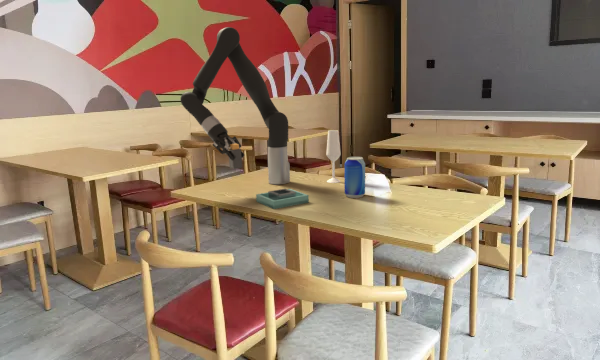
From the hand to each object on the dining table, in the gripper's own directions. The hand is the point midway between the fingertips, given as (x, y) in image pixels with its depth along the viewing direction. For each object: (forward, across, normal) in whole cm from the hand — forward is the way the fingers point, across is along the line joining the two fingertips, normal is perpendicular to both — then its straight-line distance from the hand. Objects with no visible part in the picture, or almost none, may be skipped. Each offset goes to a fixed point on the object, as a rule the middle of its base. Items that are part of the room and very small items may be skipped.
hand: (238, 157), depth 206 cm
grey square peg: (+2, 0, +4) cm, 5 cm away
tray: (+27, -3, -5) cm, 28 cm away
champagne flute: (+30, +40, -6) cm, 50 cm away
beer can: (+44, +18, -20) cm, 51 cm away
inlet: (+27, -3, -5) cm, 27 cm away
